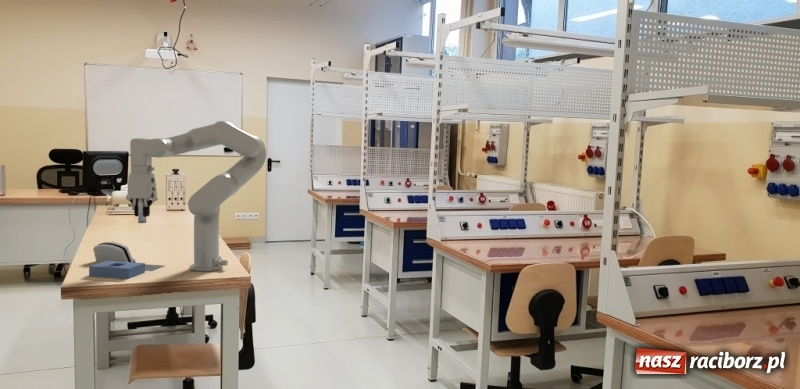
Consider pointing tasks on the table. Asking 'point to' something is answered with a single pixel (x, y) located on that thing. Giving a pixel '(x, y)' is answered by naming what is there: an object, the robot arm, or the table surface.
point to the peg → (141, 211)
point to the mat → (152, 267)
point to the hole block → (117, 269)
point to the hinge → (112, 252)
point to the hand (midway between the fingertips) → (142, 215)
